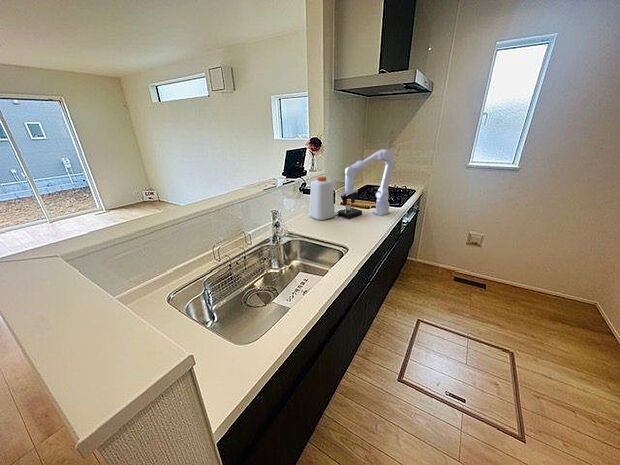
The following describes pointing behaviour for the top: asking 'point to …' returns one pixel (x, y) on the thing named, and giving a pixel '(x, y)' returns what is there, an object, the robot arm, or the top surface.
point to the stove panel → (350, 213)
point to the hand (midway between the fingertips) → (348, 204)
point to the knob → (348, 208)
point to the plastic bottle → (321, 199)
